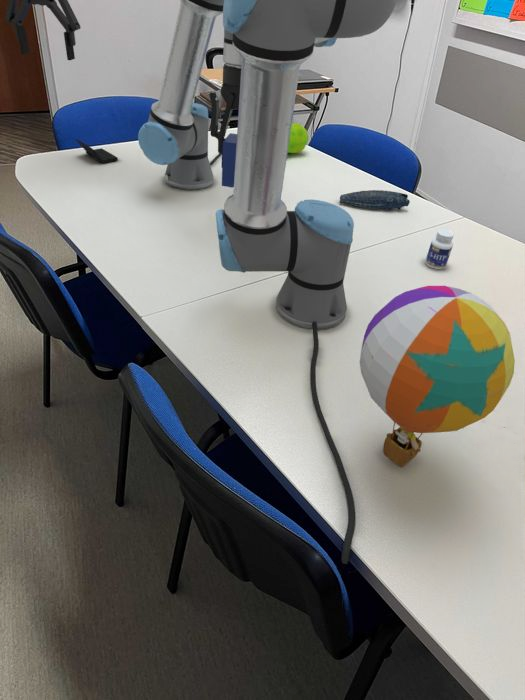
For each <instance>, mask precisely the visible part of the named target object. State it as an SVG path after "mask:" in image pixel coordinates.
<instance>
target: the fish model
mask: <svg viewBox="0 0 525 700" xmlns="http://www.w3.org/2000/svg"><path fill="white" fill-rule="evenodd" d="M410 202H411V201H410V200H409V195H408V194H406V193H403V192H402V193H401V192H399V191H392V190H382V189H380V190H379V189H377V190H376V189H368V190H360V191H352V192H348V193H344V194H341V195H340V196H339V203H343V204H346V205H349V206H351V207H357V208H362V209H371V210H372V209H374V210H384V211H385V210H386V211H391V210H394V209H397V210H402V208H404V207H408V206H409V205H410Z"/></svg>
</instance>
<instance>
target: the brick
mask: <svg viewBox="0 0 525 700" xmlns="http://www.w3.org/2000/svg"><path fill="white" fill-rule="evenodd" d="M225 138H226V139H225ZM225 138H224V139H225V140H224V141H223V155H222V154H221V166H222V168H221V186H222V187H227V188H233V189H234V176H235V160H236V145H237V133H232V132H231V133H229V134H228V135H227V136H225Z"/></svg>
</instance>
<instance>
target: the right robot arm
mask: <svg viewBox="0 0 525 700" xmlns="http://www.w3.org/2000/svg"><path fill="white" fill-rule="evenodd" d="M396 4H397V0H224V6H223V13H222V26H223V52H222V54H223V56H222V61H223V63H225V64H223V66H222V85H221V88H220V89H219V90H215V89H214V90H212V91H211V92H210V93H209V99H210V103H211V109H210V110H211V111H210V136H211V137H212V138H215V139H217V152H218V154H219V153H222V154H221V156H222V155H223V141H224V140H225V139H226V134H227V130H228V126H229V123H230V120H231V117H232V113H233V110H238V117H237V132H236V134H237V145H236V160H235V176H234V188H233V192H232V194H231V195H229V196H228V197H227V198H226V200H225V202H224V205H223V207H224V208H220V209H218V210H216V211H215V221H216V230H217V238H218V246H219V247H218V249H219V256H220V265H221V266H222V268H223V269H224V270H225V271H227V272H237V273H238V272H239V273H246V272H247V273H248V272H249V273H250V272H251V273H253V272H257V273H259V272H287V275H286V278H285V279H284V282H283V283H282V285H281V287H280V290H279V291H278V294H277V296H276V300H275V311H276V313H277V315H278V316H279V317H280V318H281V319H282V320H283V321H284V322H286V323H287V324H289V325H291V326H293V327H296V328H300V329H304V330H310V331H312V339H313V347H312V355H311V361H310V369H309V370H310V371H309V373H310V374H309V381H310V382H309V383H310V392H311V397H312V403H313V406H314V407H313V408H314V410H315V413H316V416H317V418H318V421H319V424H320V426H321V429H322V432H323V435H324V437H325V440H326V442H327V445H328V447H329V450H330V452H331V455H332V457H333V460H334V462H335V465H336V467H337V471H338V474H339V477H340V481H341V483H342V486H343V490H344V493H345V498H346V503H347V514H348V518H347V519H348V520H347V526H346V531H345V536H344V540H343V545H342V551H341V557H340V561H341V563H342V564H344V565H347V564H348V563H349V561H350V553H351V547H352V542H353V538H354V534H355V529H356V506H355V505H356V504H355V500H354V499H355V498H354V496H353V491H352V487H351V485H350V481H349V478H348V476H347V473H346V469H345V467H344V466H345V465H344V464H343V460H342V459H341V456H340V453H339V451H338V449H337V446H336V443H335V442H334V439H333V437H332V434H331V431H330V429H329V426H328V424H327V421H326V419H325V416H324V413H323V411H322V408H321V405H320V400H319V395H318V390H317V379H316V377H317V376H316V375H317V372H316V371H317V360H318V355H319V346H320V345H319V341H320V340H319V331H324V330H325V331H326V330H329V329H333V328H336V327H337V326H339V325H340V324H342V323H343V322H344V320H345V318H346V315H347V310H348V305H347V297H346V292H345V286H344V280H345V275H346V271H347V267H348V261H349V257H350V251H351V246H352V244H353V242H354V239H353V236H354V228H355V223H354V219H353V217H352V216H351V214H350V213H349V212H348V211H346V210H345V209H344V208H342V207H341V206H338V205H337V204H334V203H332V202H328V201H325V200H319V199H304V200H300V201H299V202H297V203H296V206H295V207H294V210H288V208H287V205H286V203H285V202H284V201H283V200H282V195H283V194H282V193H283V187H284V180H285V173H286V166H287V160H288V159H287V158H288V154H289V153H288V146H289V139H290V132H291V125H292V123H293V117H294V111H295V104H296V97H297V89H298V83H299V76H300V69H301V65H302V64H303V63H305V62H306V61H307V60H308V59H310V58H311V57H312V56H313V53H314V48H323V47H325V48H326V47H327V48H329V47H333V46H334V45H335V44H336V42H337V40H338V39H352V38H359V37H361V38H362V37H364V36H368V35H370V34H373V33H375V32H377V31H378V30H379V29H381V28H382V27H383V26H384V25H385V23H387V22H388V20H389V19H390V17H391V16H392V13H393V12H394V9H395V7H396ZM222 98H223V101H224V103H225V104H226V106H225V109H224V114H223V117H222V121H221V124H220V127H219V116H220V100H221V99H222ZM221 169H222V165H221Z"/></svg>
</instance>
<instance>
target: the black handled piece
mask: <svg viewBox="0 0 525 700" xmlns="http://www.w3.org/2000/svg"><path fill="white" fill-rule="evenodd" d="M75 141H76V142H77V144H79V146H81V148H82V149H83V150H84V151H85V154H86V155H88V156H89V157H91V158H93V159H94V160H96V161H98V162H99V163H101V164H107V163H111V162H115V161H116V162H117V161H118V160H119V158H118V157H117V155H116V156H115V155H114V154H112V153H111V152H109V151H107V150H106V149H103V148H102V147H101V148H96V149H93V148H92V147H91V146H90V145H88V144H85V143H84V142H83V141H81V140H79V139H77V138H75Z"/></svg>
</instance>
